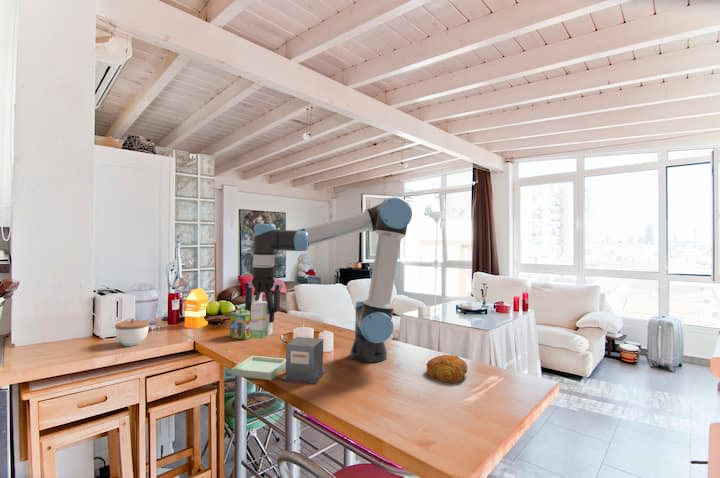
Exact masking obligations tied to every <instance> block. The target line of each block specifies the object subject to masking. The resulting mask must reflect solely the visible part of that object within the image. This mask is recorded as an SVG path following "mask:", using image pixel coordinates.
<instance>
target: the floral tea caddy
mask: <svg viewBox="0 0 720 478" xmlns="http://www.w3.org/2000/svg"><path fill="white" fill-rule="evenodd" d="M238 310H239V311H237V312H233V313H231V314H229V316H230V317H229V318H230V319H229V320H230V321H229V338H230V339H236V340H244V341H245V340H248V339H251V338H250V311H248V310H245V305H242V306H239V307H238ZM243 310H244V311H243Z"/></svg>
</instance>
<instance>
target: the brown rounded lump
mask: <svg viewBox="0 0 720 478" xmlns="http://www.w3.org/2000/svg"><path fill="white" fill-rule="evenodd" d="M426 372H427V375H428V376H429V377H430V378H432V379H433V380H437V379H438V380H439V381H441V382H446V383H450V384H451V383H452V384H454V383H457V382H459V381H461V380H462V378H463V377H464V376H465V375H466V374H467V372H468V364H467V362H466V361H465V360H464V359H462V358H460V357H459V356H458V355H452V354H443V355H438V356H435V357H433V358H431V359H429V360H428V361H427V363H426Z"/></svg>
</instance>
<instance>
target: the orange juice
mask: <svg viewBox="0 0 720 478" xmlns="http://www.w3.org/2000/svg"><path fill="white" fill-rule="evenodd" d="M184 305H185V306H184V307H185V308H184V328H190V329H191V328H192V329H199V328H203V327H205V326H207V325H208V321H206V320H205V319H204V317H205V316H206V309H207V308H206V307H208V308H209V298H208V296H207V293H206V292H205V290H204V288H203V287H201V288H195V289H194V288H193V289H191V291H190V292H189V293H188V296H187V297H186V298H185V304H184Z"/></svg>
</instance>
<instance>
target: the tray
mask: <svg viewBox="0 0 720 478" xmlns="http://www.w3.org/2000/svg"><path fill="white" fill-rule="evenodd" d="M283 370H284V371H285V370H286V358H283V357H282V358H281V357H272V356H270V357H269V356H261V355H260V356H259V355H251V356H249V357H247V358H245V359H244V360H243V361H241V362H240V363H238V364H236V365H235V366H234V367H232V368H230V377H239V378H248V379H255V380H256V379H257V380H266V381H272V380H273V379H274V378H275V377H276V376H278V375H279V374H280V373H282V372H283Z"/></svg>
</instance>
